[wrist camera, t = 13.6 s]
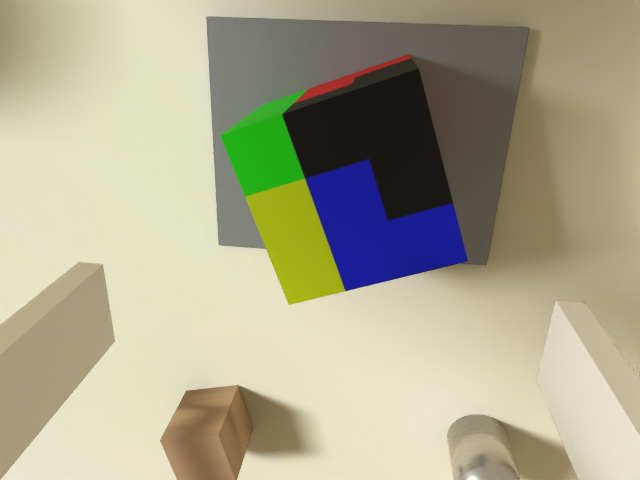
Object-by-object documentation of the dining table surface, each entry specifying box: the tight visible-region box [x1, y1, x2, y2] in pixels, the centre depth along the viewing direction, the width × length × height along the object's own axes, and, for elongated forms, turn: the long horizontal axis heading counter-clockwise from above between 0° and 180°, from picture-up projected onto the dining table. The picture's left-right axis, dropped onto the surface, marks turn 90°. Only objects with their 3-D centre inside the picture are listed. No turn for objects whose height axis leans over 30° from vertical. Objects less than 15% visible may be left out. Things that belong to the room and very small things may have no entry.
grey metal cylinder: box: [447, 415, 520, 480], centre depth 41 cm, size 5×5×7 cm
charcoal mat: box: [206, 17, 529, 265], centre depth 35 cm, size 20×16×1 cm
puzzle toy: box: [220, 54, 468, 305], centre depth 30 cm, size 10×10×10 cm
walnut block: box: [160, 385, 253, 480], centre depth 44 cm, size 5×5×6 cm
